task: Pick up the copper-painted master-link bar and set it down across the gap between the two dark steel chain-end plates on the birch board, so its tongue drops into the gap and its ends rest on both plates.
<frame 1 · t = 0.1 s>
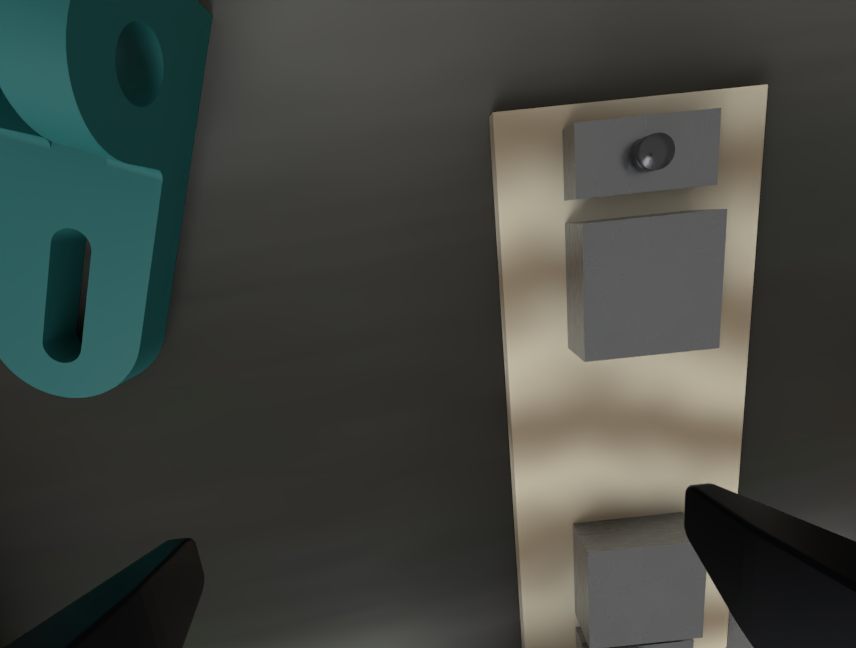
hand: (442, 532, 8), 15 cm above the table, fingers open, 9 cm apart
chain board: (619, 425, 24), on the table
teal rounded piece: (114, 204, 21), on the table
upper chain end: (629, 281, 21), resting on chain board
lower chain end: (627, 563, 25), resting on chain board
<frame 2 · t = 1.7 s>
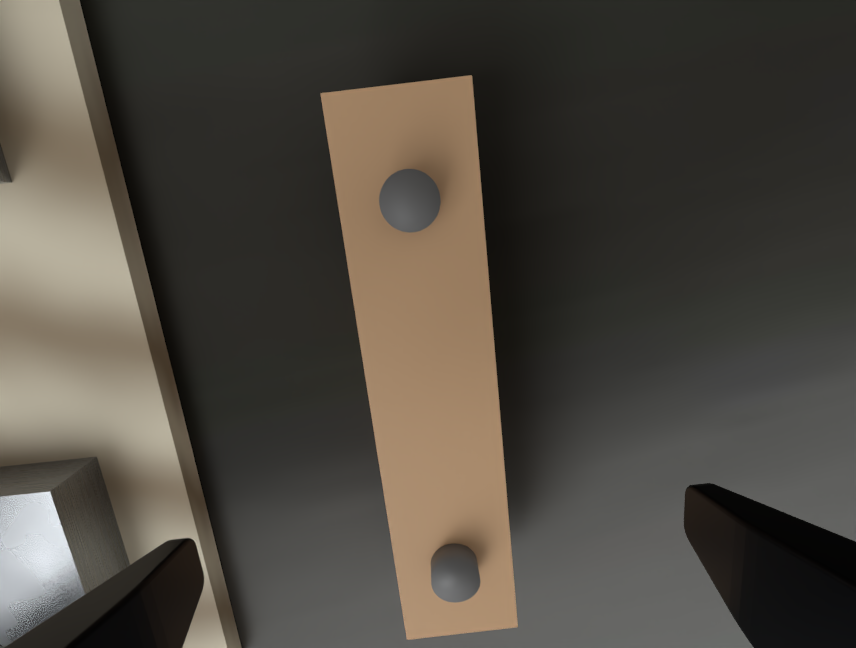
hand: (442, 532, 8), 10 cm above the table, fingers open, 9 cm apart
lower chain end: (42, 532, 17), resting on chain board
master link: (430, 362, 17), on the table
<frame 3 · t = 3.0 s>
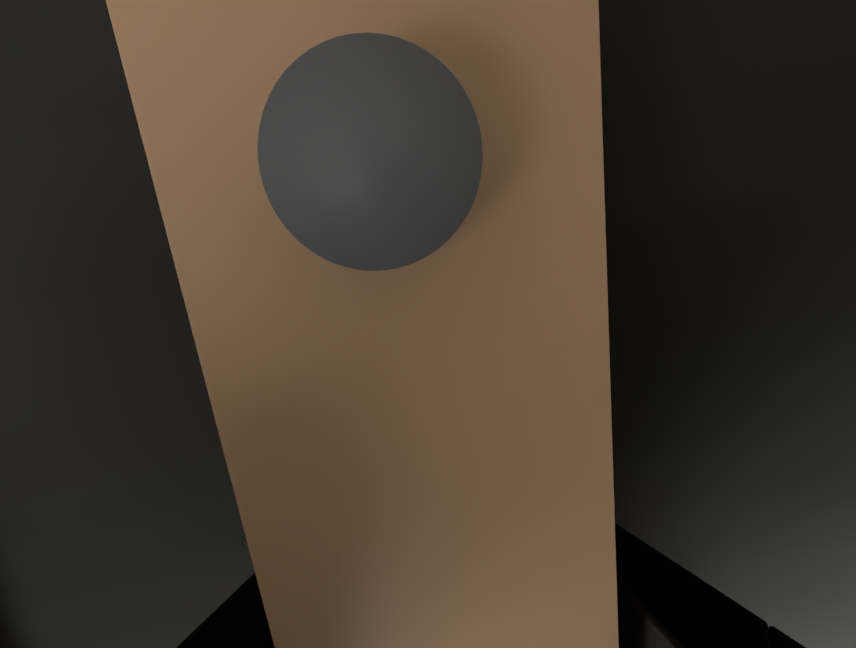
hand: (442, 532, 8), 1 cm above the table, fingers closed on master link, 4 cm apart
master link: (439, 496, 9), on the table, touching gripper
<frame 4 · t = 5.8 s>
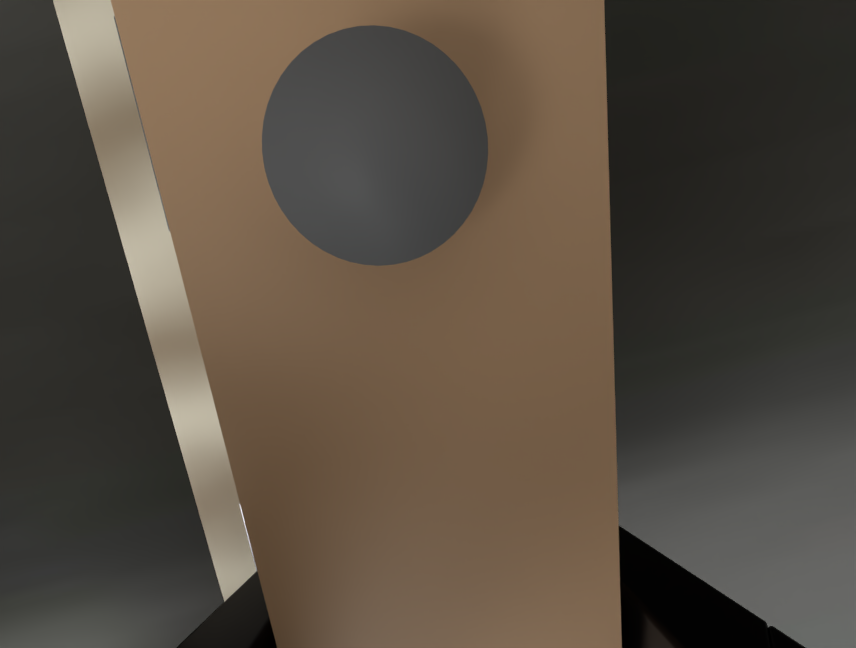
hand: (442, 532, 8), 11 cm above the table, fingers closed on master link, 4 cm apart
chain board: (314, 342, 18), on the table
master link: (440, 495, 9), point 10 cm above the table, touching gripper
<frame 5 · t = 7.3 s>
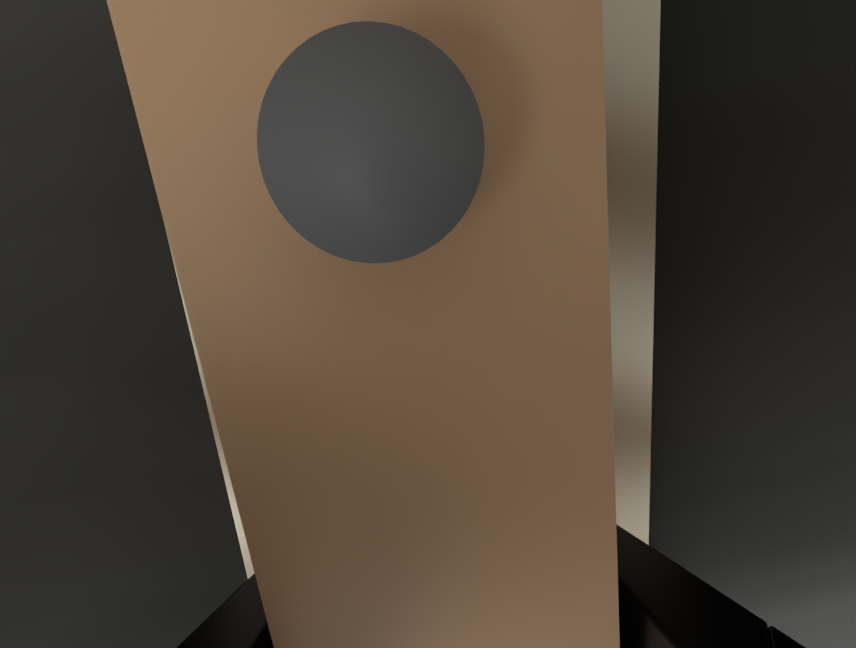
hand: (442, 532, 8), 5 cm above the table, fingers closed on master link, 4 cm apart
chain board: (433, 407, 13), on the table
master link: (438, 495, 9), point 4 cm above the table, touching gripper
when the fingers open (3 cm above the table, at t = 8.4 s): master link drops 1 cm, resting on lower chain end, upper chain end.
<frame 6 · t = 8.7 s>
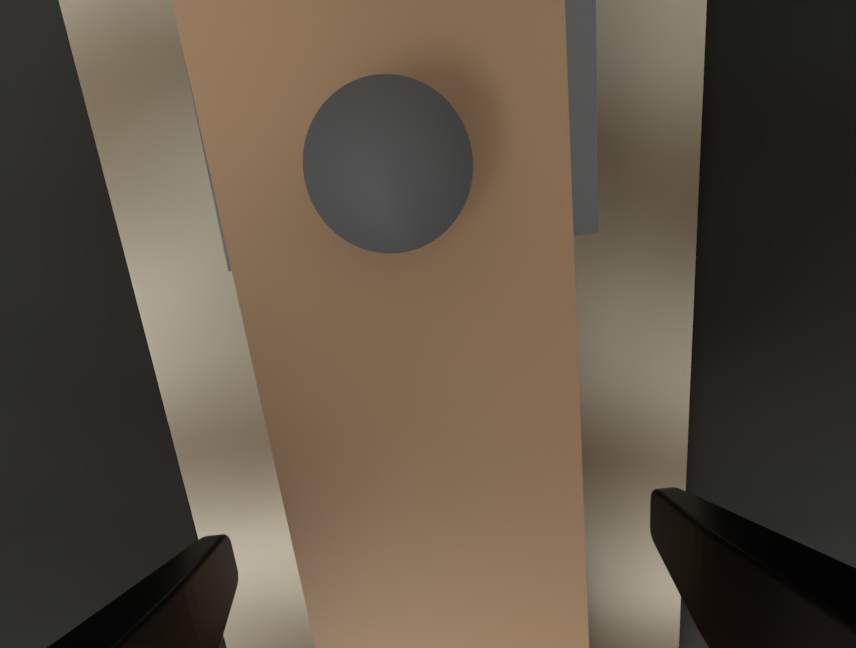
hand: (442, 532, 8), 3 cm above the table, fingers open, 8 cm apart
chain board: (434, 437, 11), on the table
upper chain end: (397, 88, 9), resting on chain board
master link: (436, 466, 10), point 1 cm above the table, touching lower chain end, upper chain end
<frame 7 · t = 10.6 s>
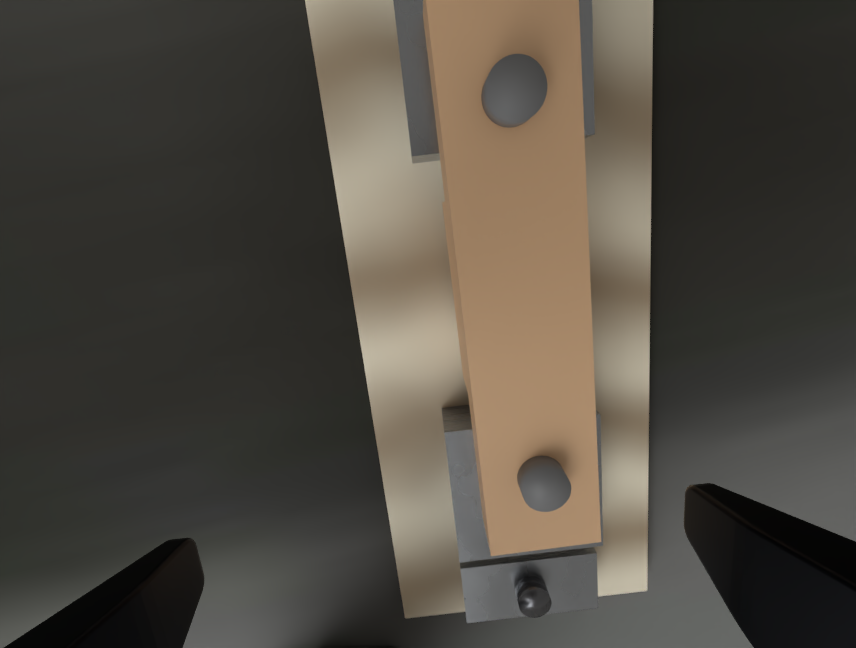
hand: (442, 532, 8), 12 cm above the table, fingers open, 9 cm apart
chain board: (497, 281, 19), on the table
upper chain end: (485, 65, 16), resting on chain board
lower chain end: (515, 461, 20), resting on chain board
master link: (503, 286, 17), point 1 cm above the table, touching lower chain end, upper chain end
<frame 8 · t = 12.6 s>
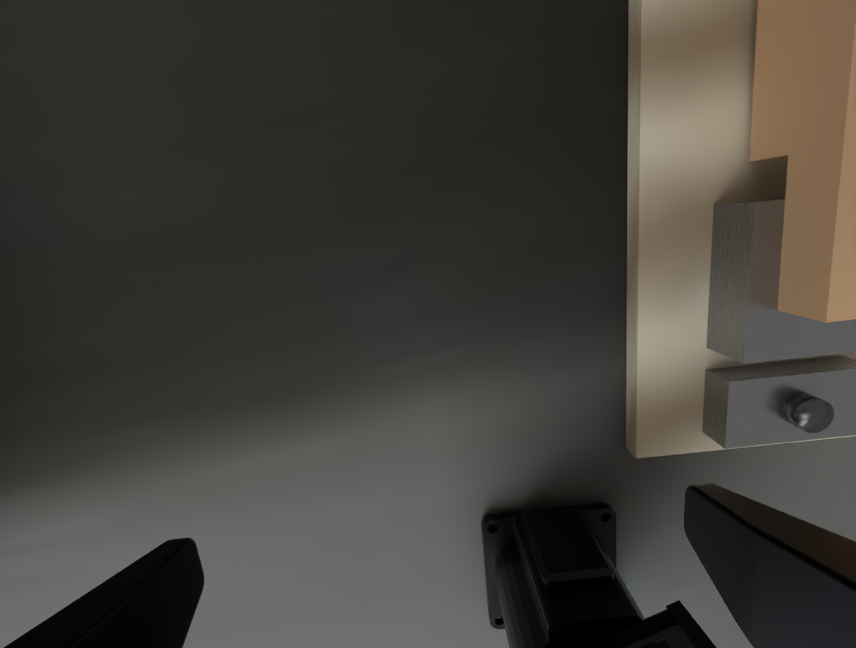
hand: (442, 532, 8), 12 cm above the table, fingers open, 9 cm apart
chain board: (778, 67, 17), on the table
lower chain end: (781, 271, 18), resting on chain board
master link: (809, 54, 16), point 1 cm above the table, touching lower chain end, upper chain end
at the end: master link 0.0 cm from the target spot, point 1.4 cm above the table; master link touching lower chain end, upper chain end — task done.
